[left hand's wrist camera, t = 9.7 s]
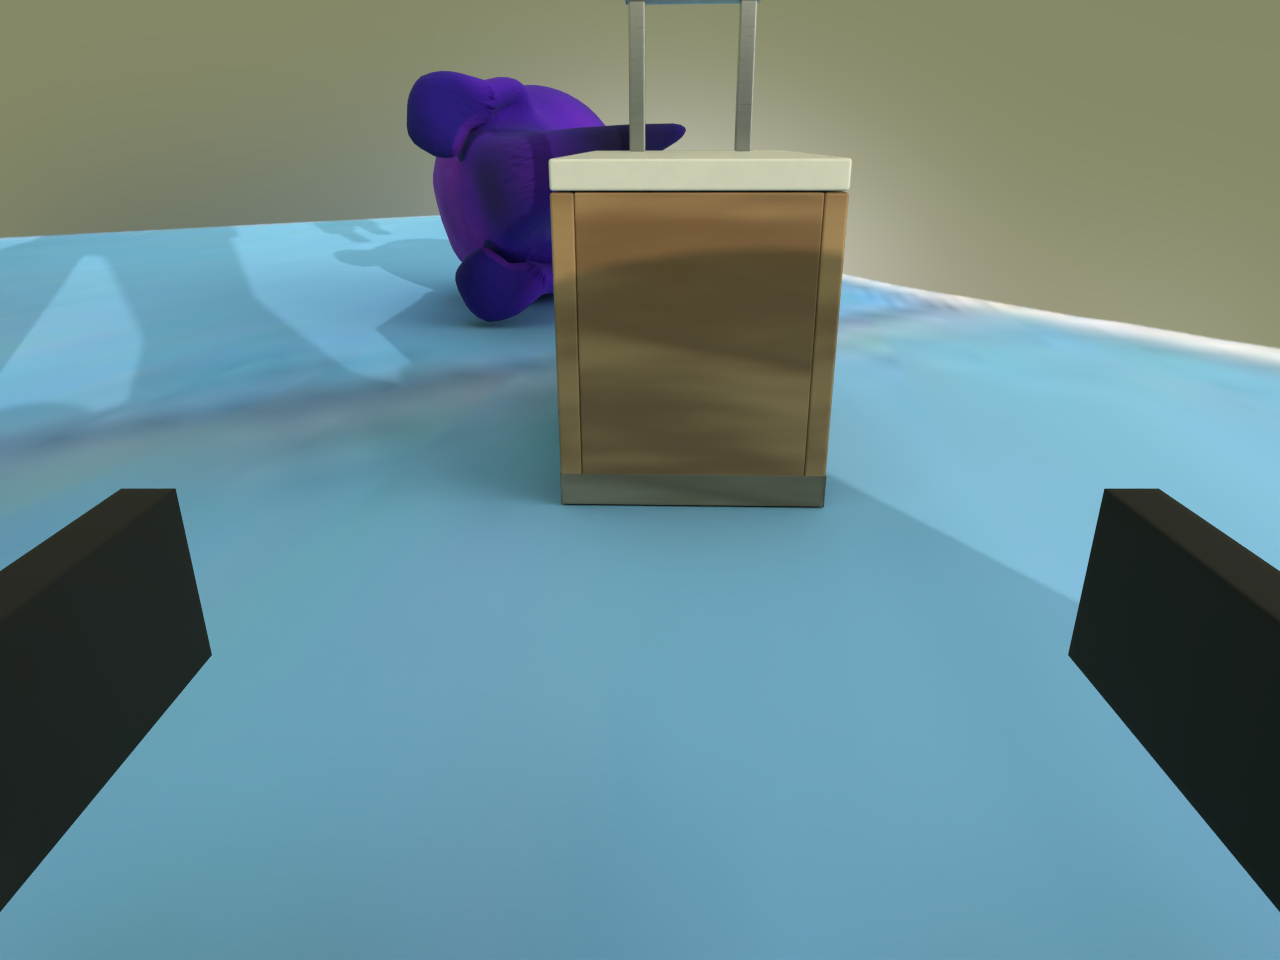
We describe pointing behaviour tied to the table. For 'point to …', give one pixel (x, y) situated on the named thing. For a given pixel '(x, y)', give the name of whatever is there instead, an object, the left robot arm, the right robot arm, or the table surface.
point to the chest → (696, 344)
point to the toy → (505, 176)
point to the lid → (697, 167)
